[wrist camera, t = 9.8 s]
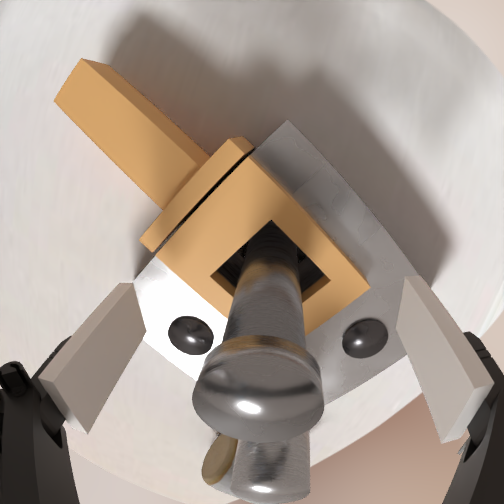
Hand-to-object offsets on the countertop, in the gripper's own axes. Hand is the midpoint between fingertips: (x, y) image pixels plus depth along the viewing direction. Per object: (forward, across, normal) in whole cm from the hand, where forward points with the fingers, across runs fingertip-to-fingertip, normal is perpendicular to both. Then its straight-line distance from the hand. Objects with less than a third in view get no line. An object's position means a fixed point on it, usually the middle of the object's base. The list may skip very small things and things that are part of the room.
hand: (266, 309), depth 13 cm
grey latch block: (+8, 0, -4) cm, 9 cm away
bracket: (+8, -4, +5) cm, 10 cm away
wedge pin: (+8, 0, 0) cm, 8 cm away
